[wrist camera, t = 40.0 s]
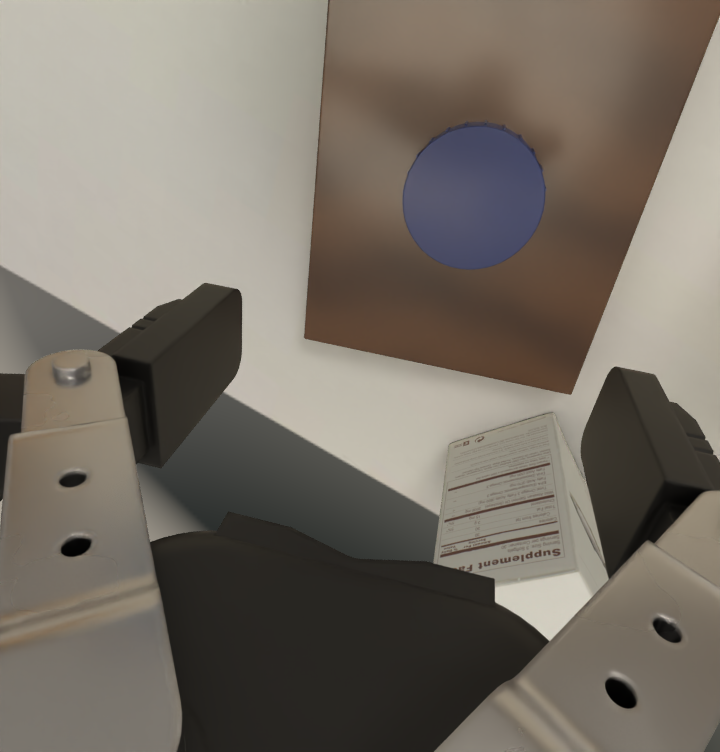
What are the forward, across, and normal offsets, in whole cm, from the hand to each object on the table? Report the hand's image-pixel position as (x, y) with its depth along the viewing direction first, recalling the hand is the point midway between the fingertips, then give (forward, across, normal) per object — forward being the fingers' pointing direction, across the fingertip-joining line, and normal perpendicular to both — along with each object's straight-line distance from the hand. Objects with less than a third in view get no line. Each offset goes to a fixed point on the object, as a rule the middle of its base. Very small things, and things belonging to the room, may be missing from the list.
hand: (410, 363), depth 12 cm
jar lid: (+16, -1, 0) cm, 16 cm away
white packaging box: (+20, -8, +17) cm, 27 cm away
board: (+19, -1, 0) cm, 19 cm away
